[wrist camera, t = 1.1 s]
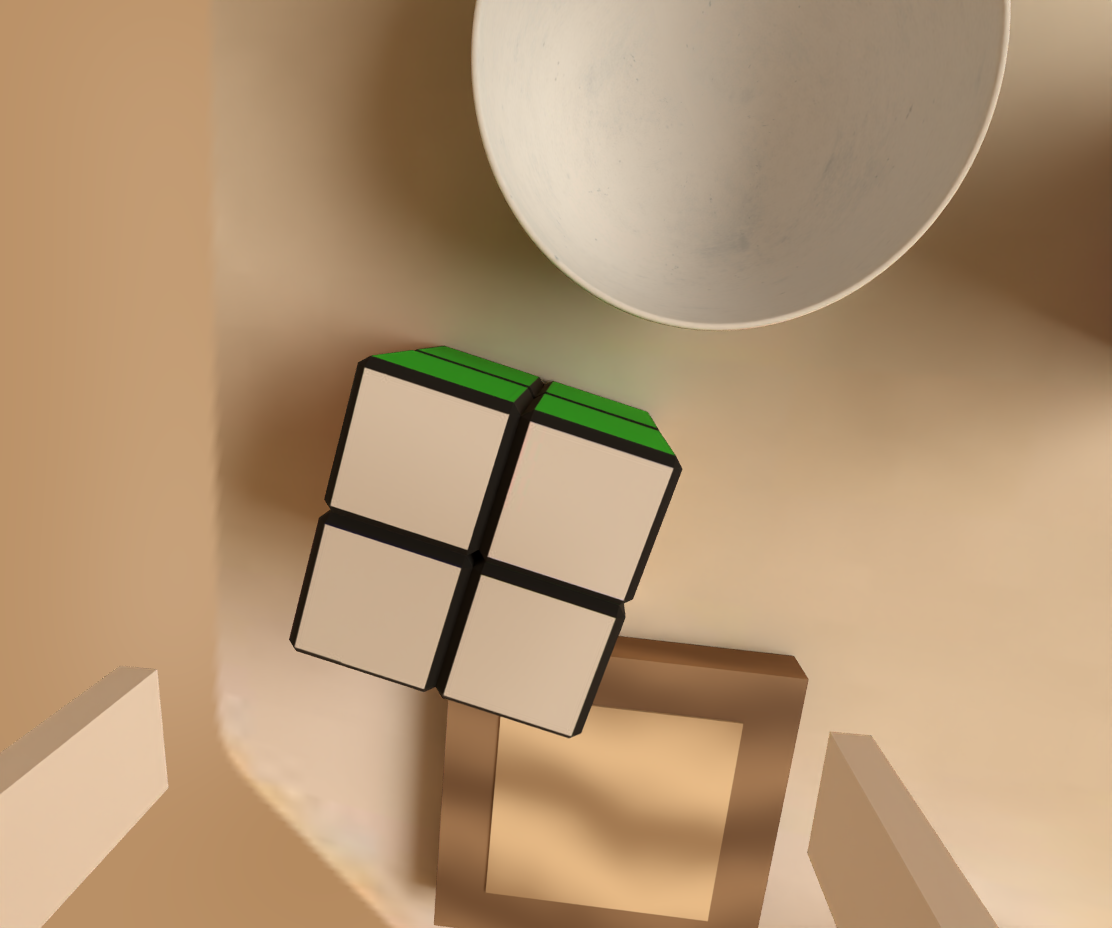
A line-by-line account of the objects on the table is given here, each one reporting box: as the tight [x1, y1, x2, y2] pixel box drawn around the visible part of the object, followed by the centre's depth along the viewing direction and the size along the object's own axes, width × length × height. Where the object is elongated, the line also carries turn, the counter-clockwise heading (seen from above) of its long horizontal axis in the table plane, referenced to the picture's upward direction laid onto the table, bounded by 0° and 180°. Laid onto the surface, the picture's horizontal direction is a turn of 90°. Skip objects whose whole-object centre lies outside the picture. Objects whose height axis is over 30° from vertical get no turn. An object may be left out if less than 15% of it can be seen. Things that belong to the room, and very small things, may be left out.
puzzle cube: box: [289, 346, 682, 738], centre depth 24 cm, size 10×10×10 cm
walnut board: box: [434, 636, 808, 928], centre depth 31 cm, size 16×16×2 cm
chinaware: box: [471, 0, 1010, 331], centre depth 21 cm, size 15×15×8 cm
